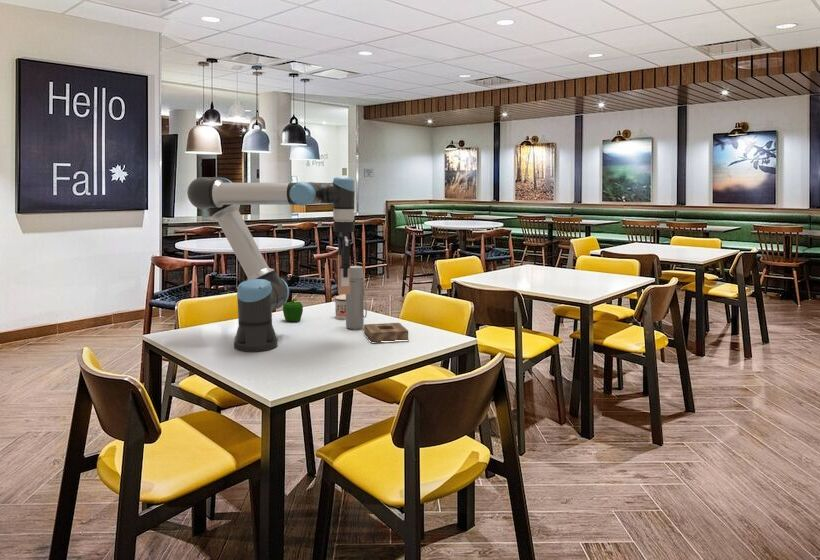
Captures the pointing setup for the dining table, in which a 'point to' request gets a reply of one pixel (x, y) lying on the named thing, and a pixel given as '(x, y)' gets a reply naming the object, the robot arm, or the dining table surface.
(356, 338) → the dining table surface
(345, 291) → the peg
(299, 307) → the bell pepper
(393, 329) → the socket block
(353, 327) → the water bottle
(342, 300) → the teacup with lid
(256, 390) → the dining table surface
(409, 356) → the dining table surface
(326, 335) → the dining table surface
